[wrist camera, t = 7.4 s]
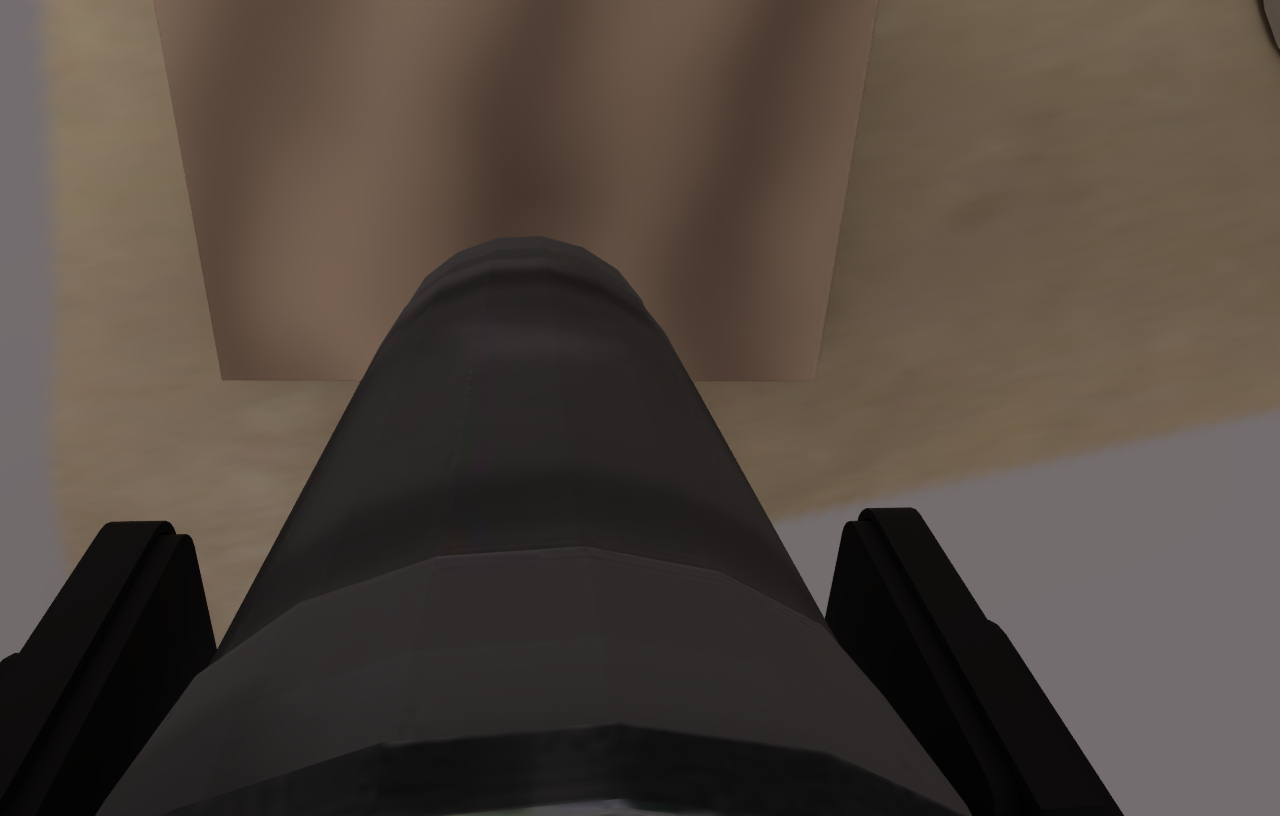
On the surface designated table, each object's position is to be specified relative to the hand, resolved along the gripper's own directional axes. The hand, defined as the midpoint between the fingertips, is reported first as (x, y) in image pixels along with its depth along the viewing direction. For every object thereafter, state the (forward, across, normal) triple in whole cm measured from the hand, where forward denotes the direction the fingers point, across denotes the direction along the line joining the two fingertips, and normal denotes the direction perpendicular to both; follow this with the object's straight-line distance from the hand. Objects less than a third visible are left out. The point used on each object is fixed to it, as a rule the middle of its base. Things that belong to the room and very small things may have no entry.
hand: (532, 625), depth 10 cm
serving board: (+19, 0, 0) cm, 19 cm away
